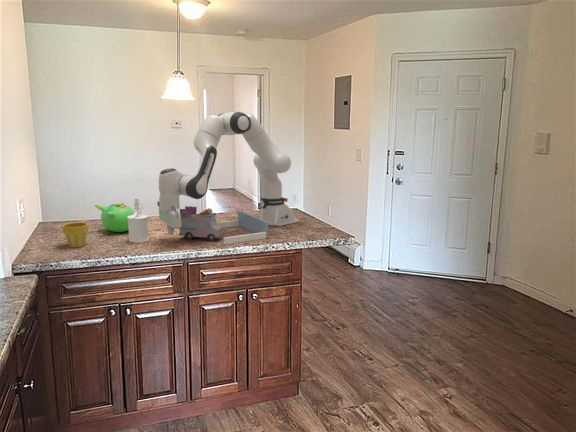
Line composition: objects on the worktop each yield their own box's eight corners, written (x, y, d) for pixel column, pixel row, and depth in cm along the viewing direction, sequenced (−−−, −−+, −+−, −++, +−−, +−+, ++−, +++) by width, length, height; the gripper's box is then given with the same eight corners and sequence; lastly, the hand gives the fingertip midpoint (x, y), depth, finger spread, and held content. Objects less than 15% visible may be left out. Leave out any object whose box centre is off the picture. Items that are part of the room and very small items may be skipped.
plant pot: (69, 242, 218) (67, 221, 216) (92, 242, 219) (90, 221, 217) (60, 249, 208) (58, 227, 206) (85, 248, 209) (83, 227, 206)
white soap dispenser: (132, 237, 228) (130, 196, 224) (151, 237, 228) (149, 196, 223) (124, 243, 218) (121, 200, 213) (144, 243, 217) (142, 201, 213)
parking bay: (239, 225, 255) (239, 210, 253) (268, 238, 230) (268, 222, 228) (199, 230, 243) (198, 215, 241) (224, 244, 218) (224, 227, 216)
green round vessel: (142, 231, 239) (141, 203, 236) (111, 237, 227) (109, 207, 224) (125, 225, 251) (123, 198, 248) (93, 231, 239) (91, 202, 236)
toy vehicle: (217, 242, 222) (216, 211, 218) (178, 239, 225) (177, 208, 222) (224, 237, 230) (223, 207, 227) (186, 234, 234) (185, 205, 231)
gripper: (184, 208, 209) (185, 238, 212) (169, 200, 226) (170, 228, 229) (170, 209, 206) (171, 240, 209) (156, 201, 223) (157, 230, 226)
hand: (170, 234), depth 219 cm, fingers closed
